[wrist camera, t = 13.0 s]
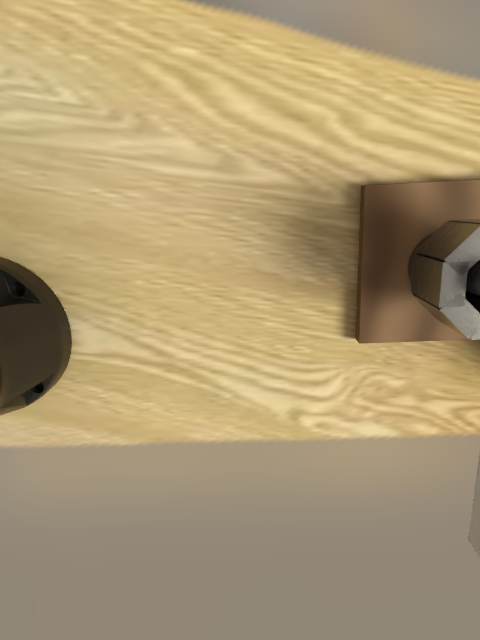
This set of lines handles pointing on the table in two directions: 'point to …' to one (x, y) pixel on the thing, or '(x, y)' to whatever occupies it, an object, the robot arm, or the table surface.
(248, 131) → the table surface
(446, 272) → the ring
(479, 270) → the shaft
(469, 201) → the base board
